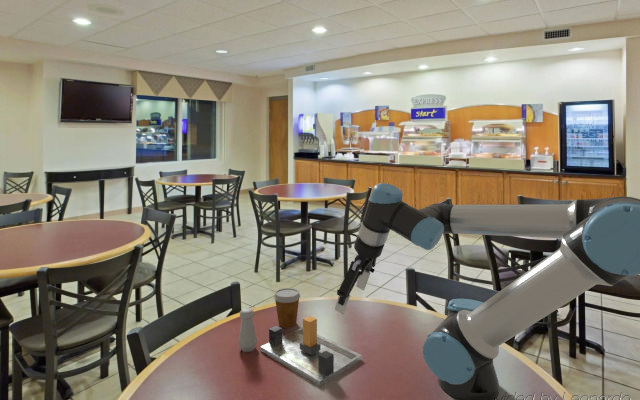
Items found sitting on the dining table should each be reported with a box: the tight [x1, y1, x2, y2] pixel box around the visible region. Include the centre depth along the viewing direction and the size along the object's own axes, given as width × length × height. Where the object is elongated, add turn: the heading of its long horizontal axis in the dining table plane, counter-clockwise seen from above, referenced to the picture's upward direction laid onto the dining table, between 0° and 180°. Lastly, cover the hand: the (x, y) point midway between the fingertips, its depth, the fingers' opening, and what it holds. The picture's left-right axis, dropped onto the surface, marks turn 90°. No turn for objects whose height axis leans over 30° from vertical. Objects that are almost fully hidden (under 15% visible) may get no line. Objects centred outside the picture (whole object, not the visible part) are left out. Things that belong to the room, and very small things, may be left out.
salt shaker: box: [238, 307, 258, 353], centre depth 120 cm, size 6×6×13 cm
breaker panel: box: [260, 325, 363, 387], centre depth 117 cm, size 26×18×6 cm
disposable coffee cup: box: [273, 287, 301, 329], centre depth 137 cm, size 10×10×12 cm
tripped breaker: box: [300, 315, 320, 355], centre depth 116 cm, size 5×4×10 cm
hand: (350, 299), depth 110 cm, fingers open, 13 cm apart
